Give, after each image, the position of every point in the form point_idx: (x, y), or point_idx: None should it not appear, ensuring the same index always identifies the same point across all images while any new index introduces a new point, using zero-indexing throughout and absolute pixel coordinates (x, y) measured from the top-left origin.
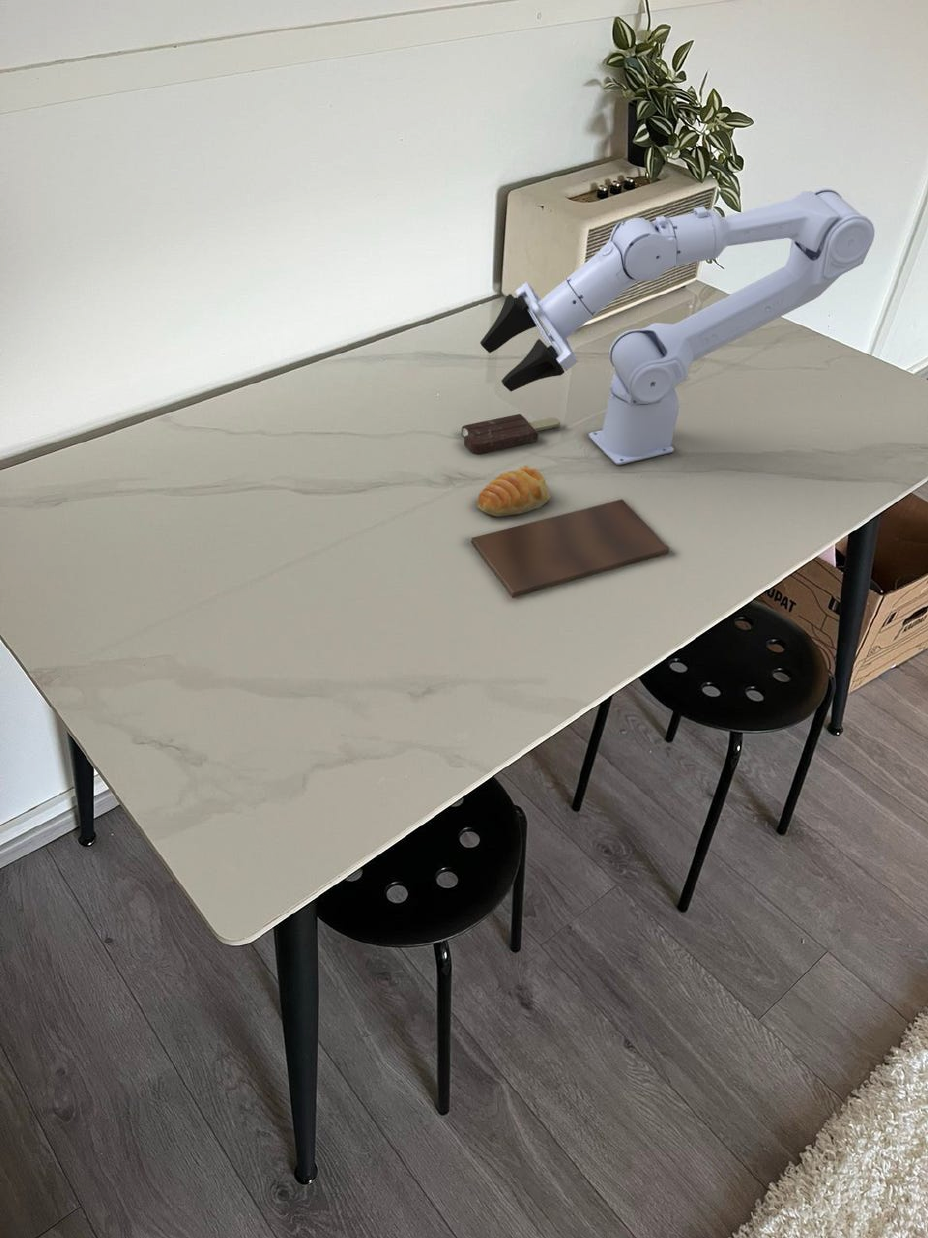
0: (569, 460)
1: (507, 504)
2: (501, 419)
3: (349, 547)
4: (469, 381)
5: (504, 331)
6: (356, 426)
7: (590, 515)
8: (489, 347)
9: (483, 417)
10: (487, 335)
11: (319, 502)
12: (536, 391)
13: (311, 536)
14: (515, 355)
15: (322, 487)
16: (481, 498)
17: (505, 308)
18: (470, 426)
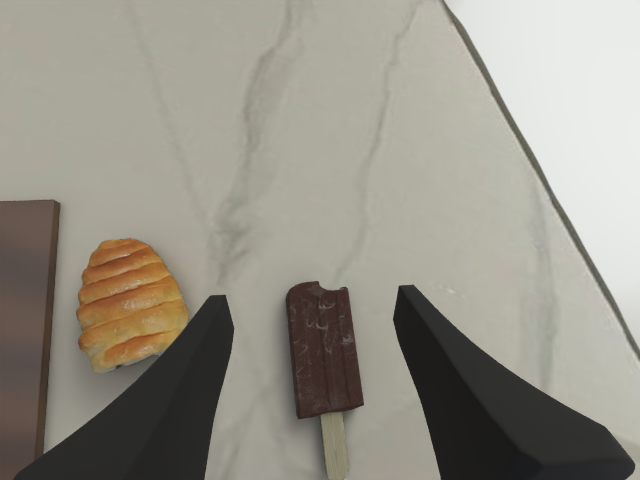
0: (224, 460)
1: (82, 275)
2: (351, 361)
3: (129, 59)
4: None
5: (429, 373)
6: (389, 160)
7: (8, 439)
8: (399, 315)
9: (383, 341)
10: (421, 304)
11: (238, 64)
12: None
13: (171, 32)
14: None
15: (268, 78)
16: (127, 241)
17: (517, 396)
18: (341, 299)
